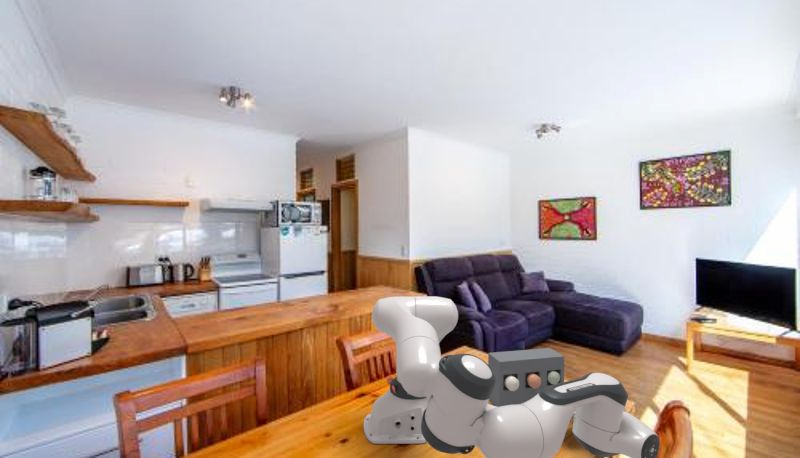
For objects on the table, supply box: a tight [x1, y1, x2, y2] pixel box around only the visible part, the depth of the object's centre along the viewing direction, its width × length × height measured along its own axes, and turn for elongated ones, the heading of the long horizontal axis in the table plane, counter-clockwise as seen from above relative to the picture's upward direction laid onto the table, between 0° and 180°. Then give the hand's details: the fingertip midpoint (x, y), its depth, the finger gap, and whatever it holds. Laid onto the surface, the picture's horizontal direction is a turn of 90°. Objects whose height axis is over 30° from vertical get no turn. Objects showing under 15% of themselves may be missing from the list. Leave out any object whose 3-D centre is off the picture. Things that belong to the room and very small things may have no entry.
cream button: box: [504, 376, 519, 391], centre depth 114 cm, size 4×2×4 cm, turn 102°
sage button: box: [547, 370, 560, 384], centre depth 118 cm, size 4×2×4 cm, turn 102°
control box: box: [487, 347, 565, 407], centre depth 120 cm, size 24×8×16 cm, turn 102°
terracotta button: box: [526, 373, 541, 389], centre depth 115 cm, size 4×2×4 cm, turn 102°
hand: (565, 389), depth 110 cm, fingers closed
